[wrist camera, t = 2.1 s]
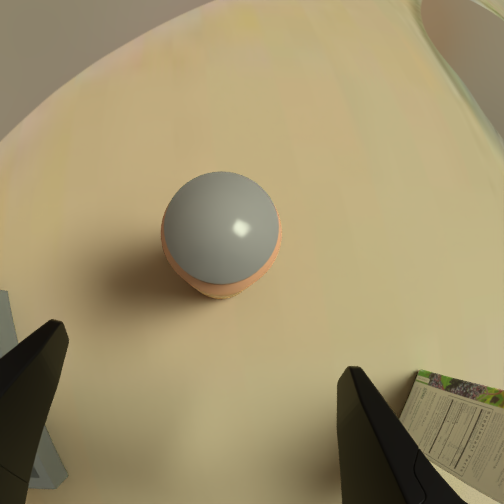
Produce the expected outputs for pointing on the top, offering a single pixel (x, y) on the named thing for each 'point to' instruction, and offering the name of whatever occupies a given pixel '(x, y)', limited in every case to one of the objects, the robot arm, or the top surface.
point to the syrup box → (459, 429)
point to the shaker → (221, 233)
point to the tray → (47, 460)
